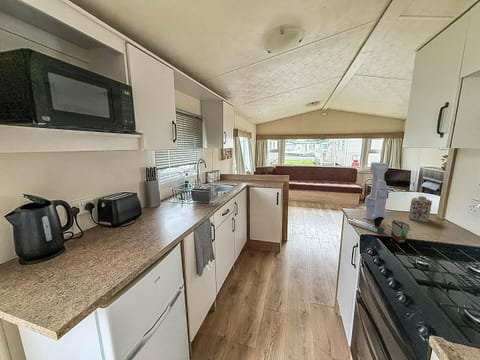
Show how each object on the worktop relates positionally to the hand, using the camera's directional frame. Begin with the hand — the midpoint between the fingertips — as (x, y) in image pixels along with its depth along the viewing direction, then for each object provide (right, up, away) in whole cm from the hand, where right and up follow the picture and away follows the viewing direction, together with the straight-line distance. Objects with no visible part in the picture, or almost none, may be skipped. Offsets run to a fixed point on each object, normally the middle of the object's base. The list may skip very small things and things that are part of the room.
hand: (376, 227), depth 137 cm
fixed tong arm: (-7, -1, +3) cm, 8 cm away
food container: (+5, -4, -14) cm, 16 cm away
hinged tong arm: (-5, -1, +4) cm, 7 cm away
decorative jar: (+48, +1, +23) cm, 54 cm away
